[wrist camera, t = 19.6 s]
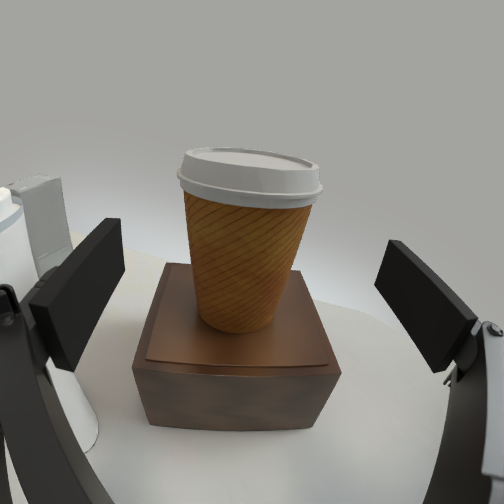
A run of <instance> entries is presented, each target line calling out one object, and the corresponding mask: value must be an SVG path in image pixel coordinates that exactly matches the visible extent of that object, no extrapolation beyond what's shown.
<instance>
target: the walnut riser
mask: <svg viewBox="0 0 504 504" xmlns="http://www.w3.org/2000/svg"><path fill="white" fill-rule="evenodd" d="M132 370H133V374H134V377H135V381H136V384H137V387H138V391H139V394H140V397H141V400H142V403H143V406H144V409H145V412H146V415H147V418H148V421H149V424H151V425H158V426H166V427H175V428H186V429H199V430H220V431H263V430H284V429H297V428H308V427H312V426H313V424H314V423H315V421H316V419H317V418H318V416H319V414H320V412H321V411H322V409H323V407H324V405H325V404H326V402H327V400H328V398H329V396H330V394H331V393H332V391H333V389H334V387H335V385H336V383H337V381H338V379H339V377H340V375H341V370H340V367H339V365H338V362H337V360H336V357H335V355H334V352H333V349H332V347H331V344H330V342H329V339H328V337H327V334H326V332H325V329H324V327H323V325H322V322H321V320H320V317H319V315H318V312H317V310H316V307H315V305H314V303H313V300H312V298H311V296H310V293H309V291H308V288H307V286H306V284H305V281H304V279H303V277H302V274H301V272H300V271H296V270H291V271H290V273H289V276H288V279H287V282H286V285H285V287H284V290H283V293H282V295H281V298H280V301H279V304H278V306H277V309H276V312H275V315H274V318H273V320H272V321H271V323H270V324H268V325H267V326H266V327H264V328H263V329H261V330H258V331H255V332H250V333H243V334H238V333H228V332H224V331H220V330H218V329H216V328H213V327H212V326H210V325H209V324H207V323H206V322H205V321H204V320H203V319H202V318H201V316H200V315H199V313H198V310H197V302H196V294H195V287H194V280H193V273H192V265H191V264H181V263H166V264H165V267H164V270H163V273H162V275H161V278H160V281H159V284H158V287H157V289H156V292H155V295H154V298H153V301H152V304H151V307H150V310H149V313H148V316H147V319H146V322H145V325H144V328H143V332H142V335H141V338H140V341H139V345H138V348H137V351H136V355H135V358H134V362H133V365H132Z"/></svg>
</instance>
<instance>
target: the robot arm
mask: <svg viewBox="0 0 504 504" xmlns="http://www.w3.org/2000/svg"><path fill="white" fill-rule="evenodd" d="M124 272H125V265H124V256H123V245H122V235H121V220H120V218H105V219H104V220H103V221H102V222H101V223H100V224H99V225H98V226H97V227H96V228H95V229H94V230H93V231H92V232H91V233H90V234H89V235H88V236H87V237H86V238H85V239H84V240H83V241H82V242H81V243H80V244H79V245H78V246H77V247H76V248H75V249H74V250H73V251H72V253H71V254H70V255H69V256H68V257H67V258H66V259H65V260H64V261H63V262H62V263H61V265H60V266H54V267H53V268H51V269H50V270H48V271H46V272H45V273H44V274H43V276H42V277H41V278H40V279H39V281H37V282H36V283H35V285H34V287H32V288H31V289H30V291H29V292H28V293H27V294H26V295H25V296H24V298H23V299H22V300H21V301H20V303H19V302H18V300H17V297H16V294H15V291H14V288H13V287H12V286H11V285H9V284H0V504H13V502H12V497H11V492H10V487H9V481H8V474H7V466H6V457H5V446H4V436H5V440H6V444H7V447H8V451H9V454H10V457H11V460H12V463H13V466H14V469H15V472H16V474H17V477H18V480H19V482H20V485H21V487H22V490H23V492H24V494H25V497H26V499H27V501H28V503H29V504H115V503H114V502H113V501H112V499H111V498H110V496H109V495H108V493H107V492H106V490H105V489H104V487H103V485H102V484H101V482H100V481H99V479H98V477H97V476H96V474H95V472H94V471H93V469H92V467H91V465H90V464H89V462H88V460H87V458H86V456H85V454H84V453H83V451H82V449H81V447H80V445H79V443H78V441H77V439H76V437H75V435H74V433H73V430H72V428H71V426H70V424H69V422H68V419H67V417H66V415H65V412H64V410H63V408H62V405H61V403H60V400H59V397H58V395H57V392H56V389H55V387H54V384H53V381H52V378H51V375H50V372H49V370H48V368H47V366H46V363H47V361H48V359H49V357H51V359H52V361H53V364H54V366H55V368H57V369H61V370H65V371H69V372H73V373H74V371H75V369H76V367H77V364H78V362H79V360H80V358H81V355H82V353H83V351H84V349H85V347H86V345H87V343H88V340H89V338H90V336H91V334H92V332H93V330H94V328H95V326H96V324H97V322H98V320H99V318H100V316H101V314H102V312H103V310H104V308H105V307H106V305H107V303H108V301H109V299H110V297H111V295H112V293H113V292H114V290H115V288H116V286H117V284H118V283H119V281H120V279H121V277H122V275H123V274H124ZM374 285H375V287H376V288H377V290H378V291H379V292H380V294H381V295H382V296H383V298H384V299H385V301H386V302H387V303H388V305H389V306H390V308H391V309H392V311H393V312H394V313H395V315H396V316H397V318H398V319H399V321H400V322H401V323H402V325H403V327H404V328H405V330H406V331H407V333H408V334H409V336H410V337H411V339H412V340H413V342H414V343H415V345H416V346H417V348H418V349H419V351H420V353H421V354H422V356H423V357H424V359H425V360H426V362H427V364H428V365H429V367H430V368H431V370H432V372H433V373H437V372H441V371H445V370H446V369H447V368H448V366H449V365H450V363H451V362H452V360H454V361H455V363H456V366H455V367H454V369H453V370H452V371H451V373H450V374H449V375H448V377H447V378H446V380H445V381H444V383H443V384H444V385H445V384H446V383H447V382H448V381H449V380H451V382H450V384H449V385H448V386H449V387H450V395H449V402H448V409H447V415H446V421H445V426H444V431H443V436H442V440H441V445H440V449H439V453H438V457H437V461H436V464H435V468H434V471H433V475H432V478H431V481H430V484H429V487H428V490H427V493H426V496H425V499H424V501H423V504H504V333H503V331H502V330H501V329H500V328H499V327H498V326H497V325H495V324H494V323H491V322H489V321H485V322H483V323H481V322H480V321H479V320H478V317H477V316H476V315H475V314H474V313H473V312H472V310H471V309H470V308H469V307H468V306H467V305H466V304H465V303H464V302H463V301H462V300H461V299H460V298H459V297H458V296H457V295H456V293H455V292H454V291H453V290H452V289H451V288H450V287H449V286H448V285H447V284H446V283H445V282H444V281H443V280H442V279H441V278H440V277H439V276H438V275H437V274H436V273H434V271H433V270H432V269H430V268H429V267H428V266H427V265H426V264H425V263H424V262H423V261H422V260H421V259H420V258H419V257H418V256H417V255H416V254H414V253H413V252H412V251H411V250H410V249H409V248H408V247H407V246H406V245H404V244H403V243H402V242H401V241H398V240H389V242H388V245H387V248H386V251H385V254H384V257H383V261H382V264H381V266H380V269H379V272H378V275H377V278H376V281H375V284H374Z"/></svg>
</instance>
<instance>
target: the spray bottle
mask: <svg viewBox="0 0 504 504" xmlns="http://www.w3.org/2000/svg"><path fill="white" fill-rule="evenodd" d="M18 204H19V205H18ZM20 205H21V206H20ZM23 210H24V209H23V202H22V199H21V198H19V197H16V196H11V192H10V190H9V189H8V188H4V187H0V284H9V285H11V286H12V287H13V288H14V291H15V294H16V297H17V300H18V302H19V303H20V301H21V300H22V299H23V298H24V296H25V295H26V294H27V293H28V292H29V291H30V289H31V288H32V287H34V285H35V283H36V282H37V281H39V279H38V275H37V272H36V268H35V264H34V260H33V256H32V252H31V247H30V242H29V238H28V233H27V227H26V222H25V216H24V211H23ZM46 366H47V368H48V370H49V372H50V375H51V378H52V381H53V384H54V387H55V389H56V392H57V395H58V397H59V400H60V403H61V405H62V408H63V410H64V412H65V415H66V417H67V419H68V422H69V424H70V426H71V428H72V430H73V433H74V435H75V437H76V439H77V441H78V443H79V445H80V447H81V449H82V451H83V453H86V452H87V451H88V450H89V449H90V448H91V447H92V446H93V444H94V443H95V441H96V439H97V435H98V420H97V417H96V415H95V413H94V411H93V409H92V407H91V405H90V404H89V402H88V400H87V398H86V396H85V394H84V392H83V391H82V389H81V387H80V385H79V383H78V381H77V379H76V377H75V375H74V373H73V372H69V371H65V370H61V369H57V368H55V366H54V364H53V361H52V359H51V357H49V359H48V361H47V363H46Z"/></svg>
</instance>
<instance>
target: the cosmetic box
mask: <svg viewBox="0 0 504 504" xmlns="http://www.w3.org/2000/svg"><path fill="white" fill-rule="evenodd" d="M4 188H8V189H9V190H10V192H11V196H16V197H19V198H21V199H22V202H23V209H24V210H23V211H24V216H25V222H26V227H27V233H28V238H29V242H30V247H31V252H32V256H33V260H34V264H35V268H36V272H37V275H38V279H40V278H41V277H42V276H43V274H44V273H45V272H46V271H48V270H50V269H51V268H53V267H54V266H60V265H61V263H62V262H63V261H64V260H65V259H66V258H67V257H68V256H69V255H70V254H71V253H72V251H73V247H72V242H71V238H70V233H69V228H68V223H67V217H66V212H65V206H64V199H63V192H62V186H61V177H55V176H48V175H43V174H37V175H34V176H31V177H29V178H26V179H23V180H20V181H17V182H15V183H12V184H9V185H7V186H5V187H4ZM18 205H19V204H18ZM20 206H21V205H20Z"/></svg>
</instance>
